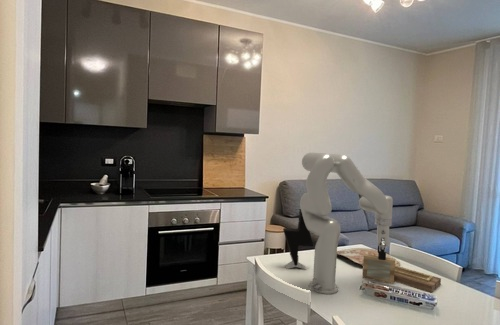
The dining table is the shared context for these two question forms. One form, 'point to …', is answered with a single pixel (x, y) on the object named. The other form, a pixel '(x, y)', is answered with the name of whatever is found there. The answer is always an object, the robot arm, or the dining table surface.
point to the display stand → (416, 279)
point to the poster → (362, 254)
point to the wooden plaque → (378, 269)
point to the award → (297, 241)
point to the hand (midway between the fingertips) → (381, 256)
